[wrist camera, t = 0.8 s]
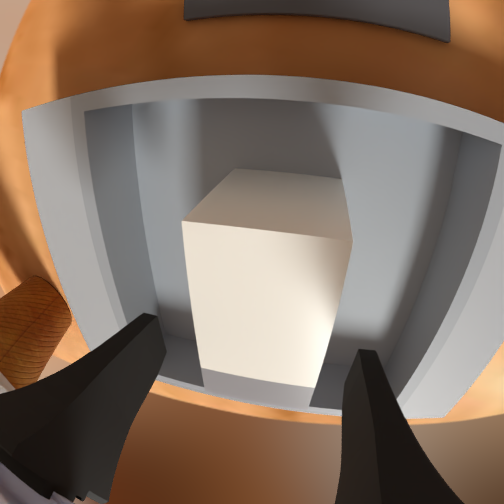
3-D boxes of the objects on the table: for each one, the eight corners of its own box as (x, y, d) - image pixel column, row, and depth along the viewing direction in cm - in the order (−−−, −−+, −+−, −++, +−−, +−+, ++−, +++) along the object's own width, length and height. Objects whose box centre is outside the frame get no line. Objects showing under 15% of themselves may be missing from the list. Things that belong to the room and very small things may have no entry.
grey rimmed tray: (530, 138, 9) (576, 160, 6) (435, 374, 18) (443, 417, 15) (71, 99, 14) (21, 111, 10) (118, 324, 23) (93, 357, 20)
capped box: (342, 179, 13) (353, 241, 8) (316, 325, 18) (307, 410, 13) (234, 168, 14) (181, 220, 9) (236, 312, 19) (205, 391, 14)
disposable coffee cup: (44, 329, 28) (-13, 400, 18) (8, 259, 23) (-67, 329, 13) (99, 346, 26) (35, 439, 16) (58, 263, 21) (-38, 360, 11)
